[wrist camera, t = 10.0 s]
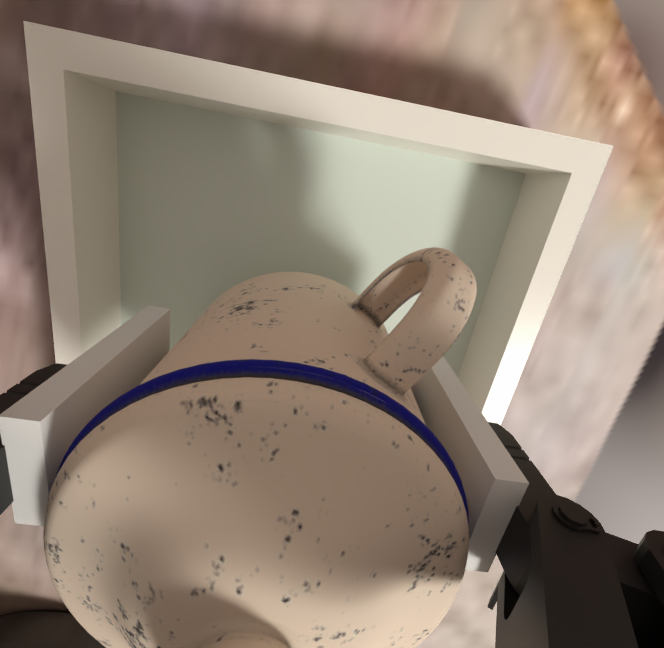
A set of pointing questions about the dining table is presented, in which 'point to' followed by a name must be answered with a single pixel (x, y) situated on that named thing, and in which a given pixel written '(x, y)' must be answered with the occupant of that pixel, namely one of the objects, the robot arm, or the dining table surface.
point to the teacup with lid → (273, 475)
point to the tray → (287, 196)
